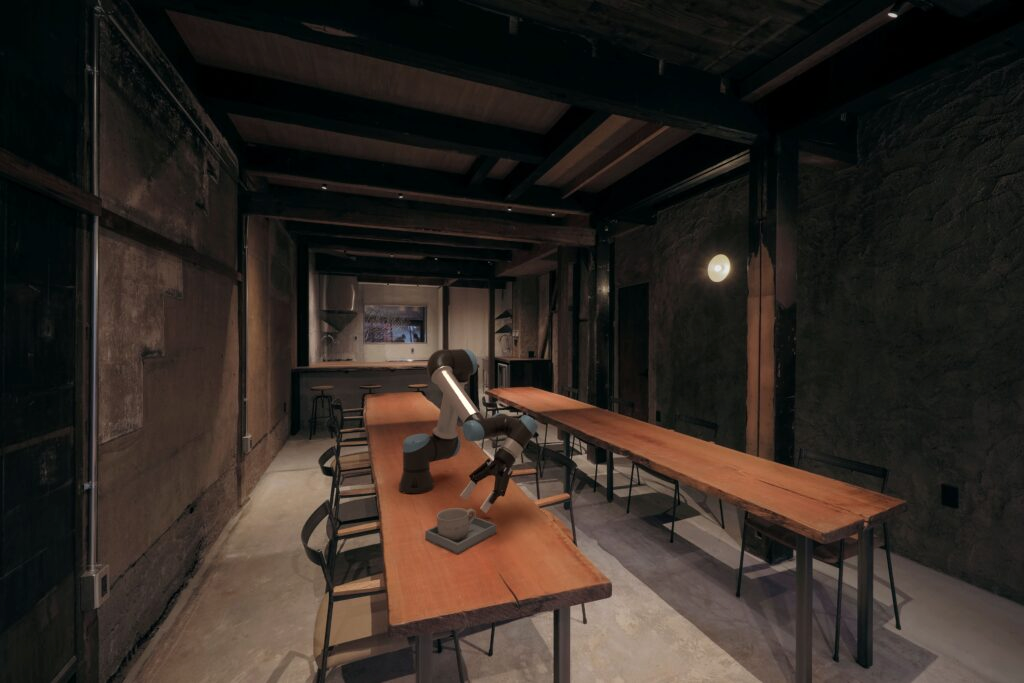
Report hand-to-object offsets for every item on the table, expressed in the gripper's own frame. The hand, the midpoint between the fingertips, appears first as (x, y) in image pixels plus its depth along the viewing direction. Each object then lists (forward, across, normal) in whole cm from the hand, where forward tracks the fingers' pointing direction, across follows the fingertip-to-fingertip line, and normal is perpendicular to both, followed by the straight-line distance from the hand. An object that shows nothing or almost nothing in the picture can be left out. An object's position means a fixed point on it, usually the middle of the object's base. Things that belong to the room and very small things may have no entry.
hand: (472, 504), depth 144 cm
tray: (+10, 0, -4) cm, 11 cm away
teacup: (+11, 0, -3) cm, 11 cm away
